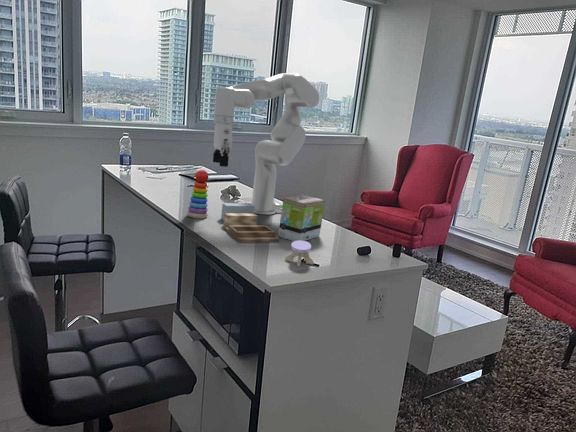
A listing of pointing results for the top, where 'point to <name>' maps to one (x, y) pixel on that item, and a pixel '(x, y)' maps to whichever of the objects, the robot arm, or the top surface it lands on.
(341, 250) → the top surface
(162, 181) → the top surface
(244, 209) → the light blue rectangular block
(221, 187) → the top surface
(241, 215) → the beige rectangular block
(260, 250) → the top surface
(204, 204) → the stacking toy
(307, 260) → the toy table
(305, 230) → the tea box
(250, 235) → the cradle jig
